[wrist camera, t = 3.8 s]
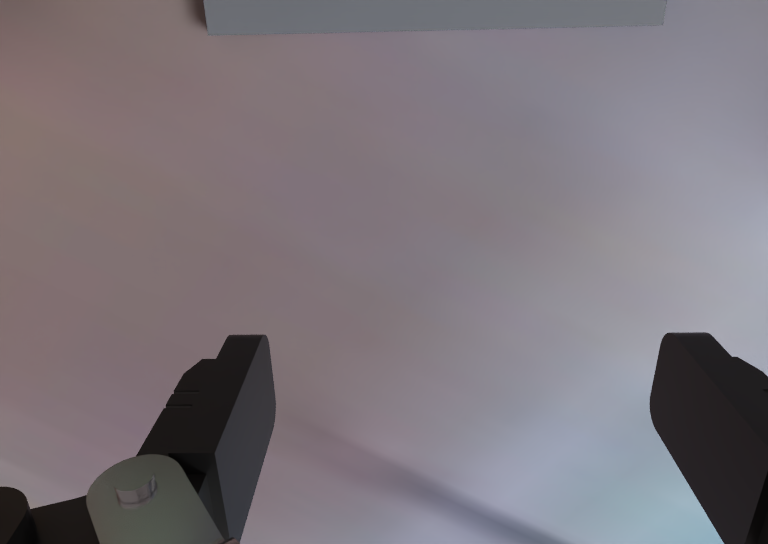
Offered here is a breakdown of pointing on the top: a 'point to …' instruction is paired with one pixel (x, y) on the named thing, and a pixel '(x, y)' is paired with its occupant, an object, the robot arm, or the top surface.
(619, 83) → the top surface
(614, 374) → the top surface
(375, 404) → the top surface
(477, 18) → the wall unit
